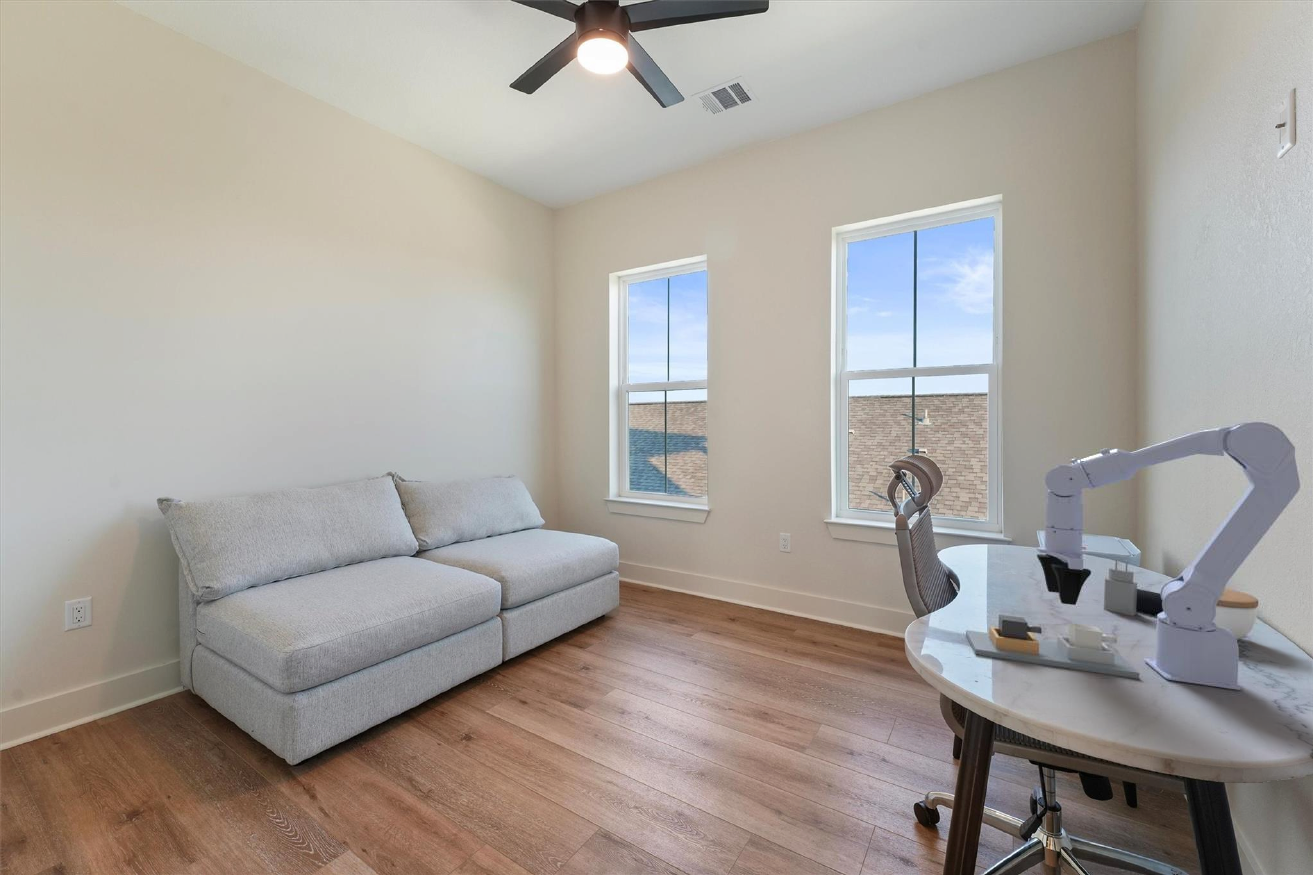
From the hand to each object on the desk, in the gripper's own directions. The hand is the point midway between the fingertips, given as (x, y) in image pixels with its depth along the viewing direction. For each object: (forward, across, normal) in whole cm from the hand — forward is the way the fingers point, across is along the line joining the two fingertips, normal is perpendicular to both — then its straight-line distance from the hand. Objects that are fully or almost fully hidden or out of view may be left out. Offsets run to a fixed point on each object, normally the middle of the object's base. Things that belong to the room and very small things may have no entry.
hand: (1061, 597), depth 103 cm
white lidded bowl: (+10, -19, +31) cm, 37 cm away
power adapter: (+10, -30, +20) cm, 37 cm away
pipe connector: (+10, -33, +31) cm, 46 cm away
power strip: (+9, +6, -4) cm, 12 cm away
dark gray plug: (+8, +6, -8) cm, 13 cm away
